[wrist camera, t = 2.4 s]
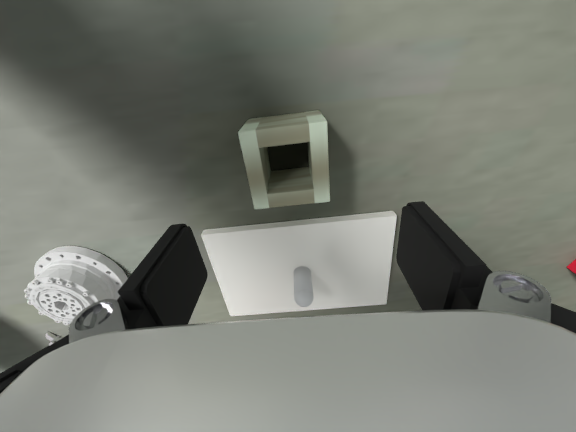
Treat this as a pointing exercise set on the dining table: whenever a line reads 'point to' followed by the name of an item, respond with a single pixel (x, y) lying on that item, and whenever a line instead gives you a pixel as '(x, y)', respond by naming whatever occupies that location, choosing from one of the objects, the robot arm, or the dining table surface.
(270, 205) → the pale green open box
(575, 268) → the dice
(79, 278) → the mechanical component
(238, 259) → the pin board
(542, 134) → the dining table surface
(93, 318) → the robot arm
